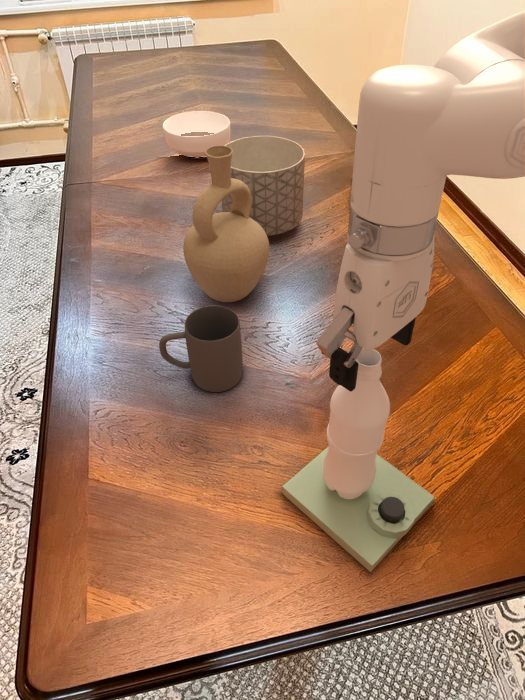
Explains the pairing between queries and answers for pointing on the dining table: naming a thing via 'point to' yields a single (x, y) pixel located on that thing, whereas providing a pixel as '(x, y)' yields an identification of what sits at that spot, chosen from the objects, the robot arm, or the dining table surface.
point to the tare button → (392, 509)
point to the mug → (210, 348)
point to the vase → (225, 236)
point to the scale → (359, 509)
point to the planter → (270, 180)
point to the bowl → (196, 123)
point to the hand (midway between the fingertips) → (370, 360)
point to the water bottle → (356, 429)
